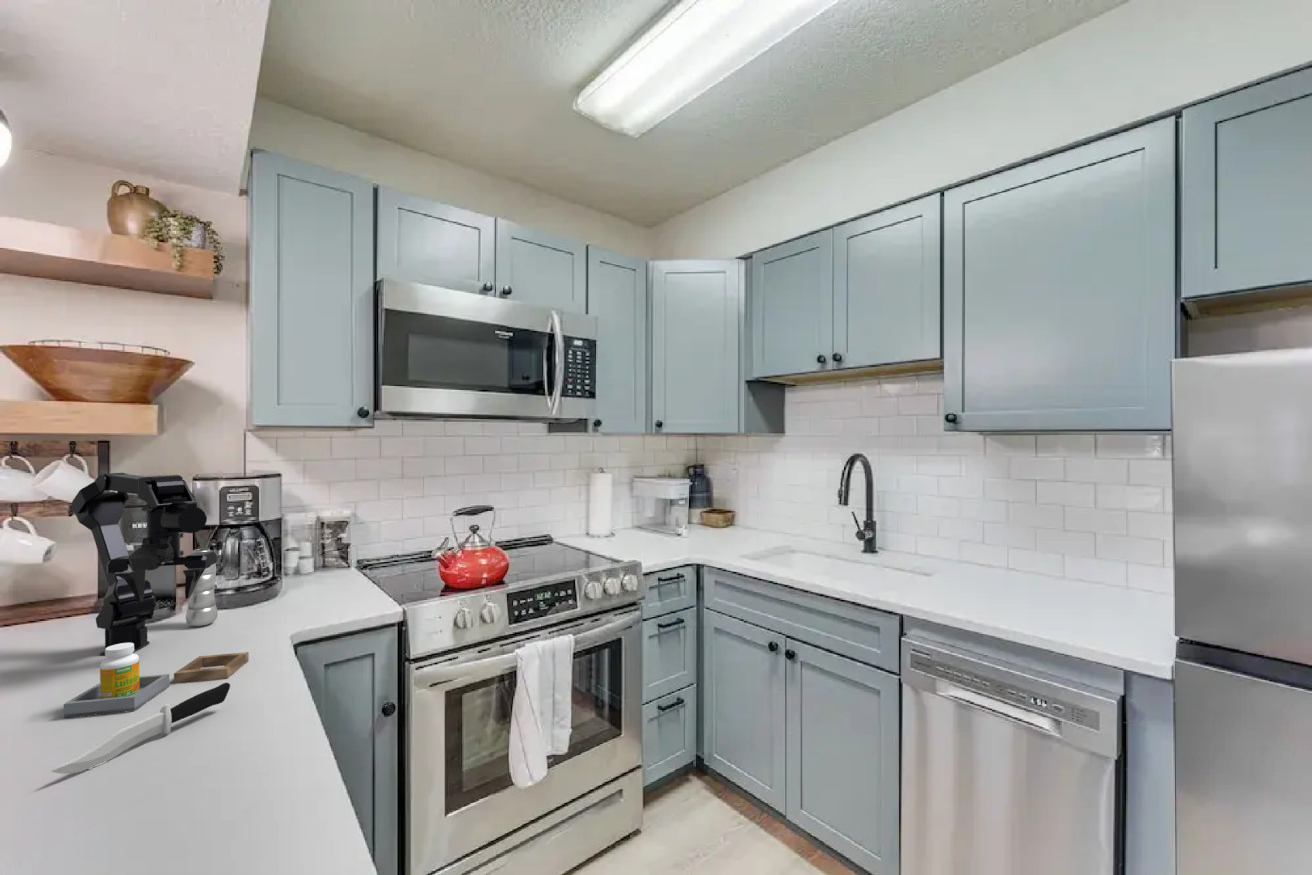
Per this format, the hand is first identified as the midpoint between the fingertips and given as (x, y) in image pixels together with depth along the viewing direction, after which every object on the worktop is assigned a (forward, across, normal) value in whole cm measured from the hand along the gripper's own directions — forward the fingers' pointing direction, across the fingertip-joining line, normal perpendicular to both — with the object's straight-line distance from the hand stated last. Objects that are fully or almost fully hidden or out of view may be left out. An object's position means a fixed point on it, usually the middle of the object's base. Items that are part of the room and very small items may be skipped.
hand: (164, 599), depth 129 cm
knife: (+13, +20, -42) cm, 48 cm away
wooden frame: (+13, +15, -12) cm, 23 cm away
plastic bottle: (+13, -4, +24) cm, 28 cm away
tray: (+13, +5, -24) cm, 27 cm away
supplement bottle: (+13, +5, -23) cm, 27 cm away
